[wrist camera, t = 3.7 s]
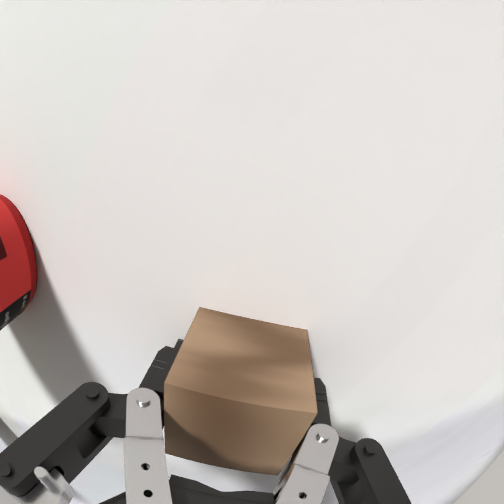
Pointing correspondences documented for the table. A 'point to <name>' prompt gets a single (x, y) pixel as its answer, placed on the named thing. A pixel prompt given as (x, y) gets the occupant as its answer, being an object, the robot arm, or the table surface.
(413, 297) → the table surface
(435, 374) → the table surface
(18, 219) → the canned food
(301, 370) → the walnut cube
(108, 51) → the table surface
